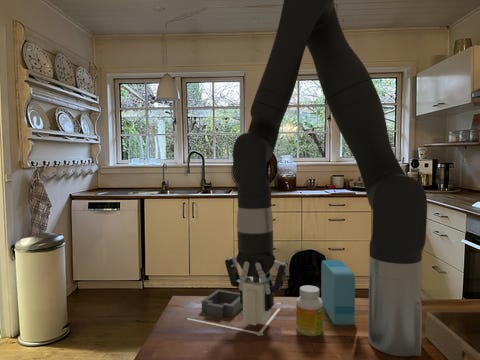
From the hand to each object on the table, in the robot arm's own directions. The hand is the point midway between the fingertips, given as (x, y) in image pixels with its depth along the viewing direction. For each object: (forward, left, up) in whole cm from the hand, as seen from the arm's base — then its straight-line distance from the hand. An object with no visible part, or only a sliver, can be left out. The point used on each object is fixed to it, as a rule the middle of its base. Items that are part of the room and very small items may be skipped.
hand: (256, 307), depth 74 cm
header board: (+6, -3, -5) cm, 8 cm away
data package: (-15, -13, -5) cm, 20 cm away
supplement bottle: (-11, -2, -5) cm, 12 cm away
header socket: (+9, -5, -4) cm, 11 cm away
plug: (0, 0, -2) cm, 2 cm away
